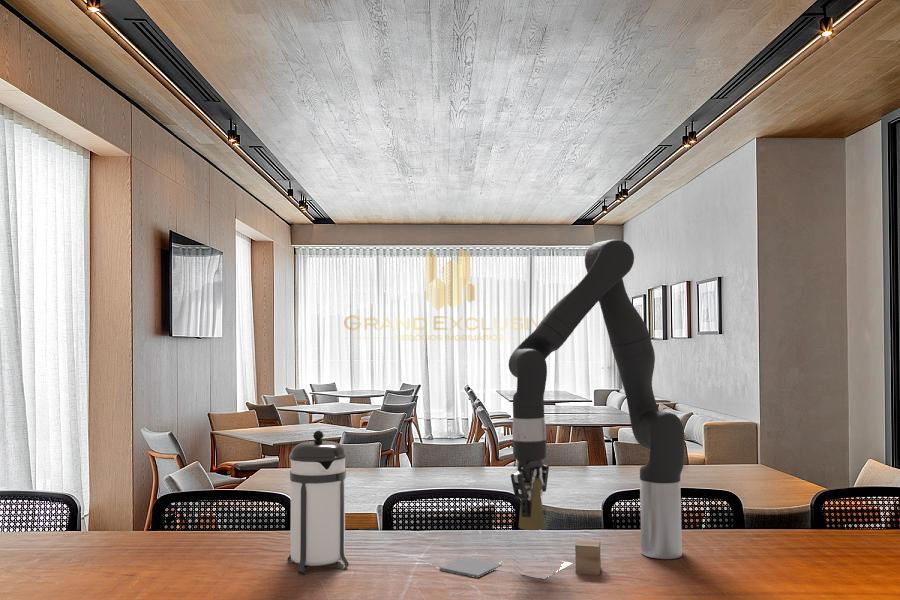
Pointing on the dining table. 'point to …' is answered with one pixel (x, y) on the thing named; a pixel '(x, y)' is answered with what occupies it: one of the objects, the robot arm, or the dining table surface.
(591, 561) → the walnut block
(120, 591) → the dining table surface
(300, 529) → the coffee press
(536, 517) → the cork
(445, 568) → the slate coaster
